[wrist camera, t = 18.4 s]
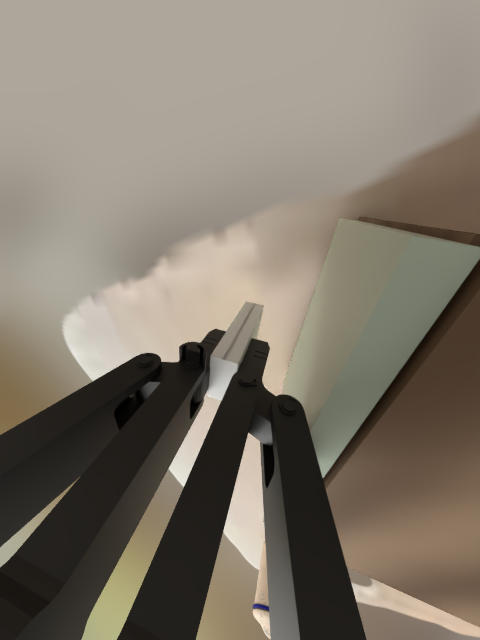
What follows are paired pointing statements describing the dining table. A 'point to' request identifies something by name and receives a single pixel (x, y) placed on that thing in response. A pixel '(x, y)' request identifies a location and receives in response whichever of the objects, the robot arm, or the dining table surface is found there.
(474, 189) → the dining table surface
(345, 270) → the pale green angular block
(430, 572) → the box
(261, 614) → the teacup with lid
